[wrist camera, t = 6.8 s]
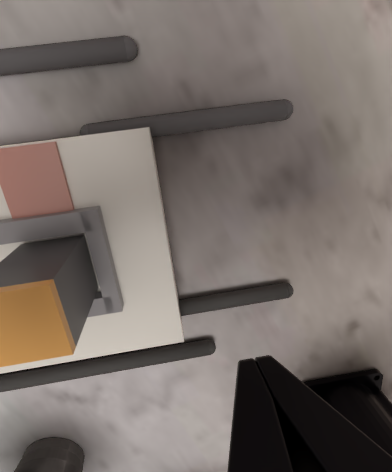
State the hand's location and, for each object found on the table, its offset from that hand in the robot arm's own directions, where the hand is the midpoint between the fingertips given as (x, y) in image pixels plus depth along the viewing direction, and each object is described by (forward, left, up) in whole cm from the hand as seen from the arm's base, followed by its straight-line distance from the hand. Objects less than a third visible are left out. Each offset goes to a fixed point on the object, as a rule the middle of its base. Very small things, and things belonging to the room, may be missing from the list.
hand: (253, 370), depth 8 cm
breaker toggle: (+7, 0, -8) cm, 11 cm away
